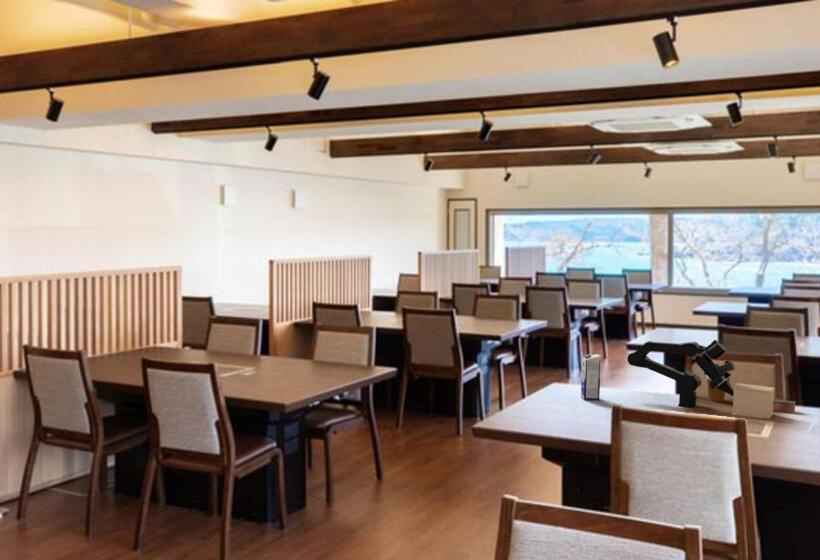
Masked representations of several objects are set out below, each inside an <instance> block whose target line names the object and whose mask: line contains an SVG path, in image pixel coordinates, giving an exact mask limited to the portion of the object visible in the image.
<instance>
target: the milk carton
mask: <svg viewBox="0 0 820 560" xmlns="http://www.w3.org/2000/svg"><path fill="white" fill-rule="evenodd" d="M581 359H582V360H581V362H582V363H581V385H580V386H581V387H580V389H581V390H580V398H581V399H582V400H583V401H593V402H594V401H597V402H598V401H599V402H600V393H601V387H600V386H601V364H602V355H600V354H598V353H595V354H590V353H588V354H585V355H584V356H583V357H582V358H581Z"/></svg>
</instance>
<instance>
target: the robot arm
mask: <svg viewBox="0 0 820 560" xmlns="http://www.w3.org/2000/svg"><path fill="white" fill-rule="evenodd" d="M652 351H653V352H663V353H664V352H665V353H677V354H680V355H683V356H687V357H689V358H691V357H692V358H691V359H690V365H691V366H693V365H695V364H696V365H697V366H698V367H699V368H700V370H702V371H703V374H704V375H705V376H708V377H709V378H710V379H711V382H710V383H709V387H710V388H711V389H714V388H715V387H716V386H717V385H718V387H717V388H716V389H719V390H721V391H723V392H725V394H728V395H729V396H732V397H733V396H734V390H733V387H732V385H731V383H730V382H731V381H730V380H731V376H732V375H733V374H732V373H731V371H734V370H735V369H736V366H735V364H734V363H733V361H730V360H726V361H724V364H721V365H719V364H718V363H715V362H714V361H713V360H715V361H716V360H718V359H720V358H721V357H723V356H724V355H725V354H726V353H727V352H728V349H727V348H726V347H725V346H724V344H722V343H721V342H719V341H718V340H717V339H714V340H712V342H711V343H710V344H709V345H707V346H704V345H701V344H699V343H698V342H696V341H688V342H682V343H681V342H680V343H672V342H660V341H659V342H658V341H652V340H650V341H646V342H645V343H643V345H642V346H640V347H639V348H638V349H637V350H635V351H634V352H631V353H629V354H628V355H627V362H628V364H629V365H630V366H633V367H637V368H643V369H648V370H650V371H652V372H654V373H657V374H660V375H661V376H664V377H666V378H668V379H671V380H674V381H675V382H677V383H678V384H680V385H681V386H678V390H679V396H678V397H679V398H678V401H679V402H678V404H677V406H678V407H684V408H691V409H694V408H696V407H697V405H698V396H697V389H699V388H700V387H701V386H702V378H701V376H699V375H698V373H693V372H691V371H690V370H685V371H684V372H681V371H678V370H676V369H674V368H672V367H669V366H667V365H664V364H662V363H660V362H658V361H655V360H653V359H651V358H650V357H648V355H649V353H650V352H652ZM695 356H696V357H695ZM694 357H695V358H694ZM727 378H728V379H727Z"/></svg>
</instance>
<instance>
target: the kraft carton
mask: <svg viewBox="0 0 820 560" xmlns="http://www.w3.org/2000/svg"><path fill="white" fill-rule="evenodd" d="M732 388H733V390H734V396H732V400H733V401H732V402H733V403H732V413H733V414H741V415H748V416H755V417H762V418H763V419H771V417H772V416H773V415H774V411H773V402H774V399H775V391H776V390H775V389H776V388H775V387H771V386H764V385H756V384H755V385H754V384H748V383H740V382H739V383H736V384H735V385H734V386H733V387H732Z"/></svg>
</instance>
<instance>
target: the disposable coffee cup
mask: <svg viewBox="0 0 820 560" xmlns="http://www.w3.org/2000/svg"><path fill="white" fill-rule="evenodd" d="M705 378H706V384H707V395H708V401H711V402H716V403H722V402H725V397H726V392H723V391H721V390H719V389H716V388H717V387H718V385H717V386H716V387H715V388H714V389H711V388H710V387H709V383H710V382H711V379H710V378H709V377H708V376H707V375H705ZM728 378H729V377H728ZM728 378H727V379H728Z"/></svg>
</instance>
